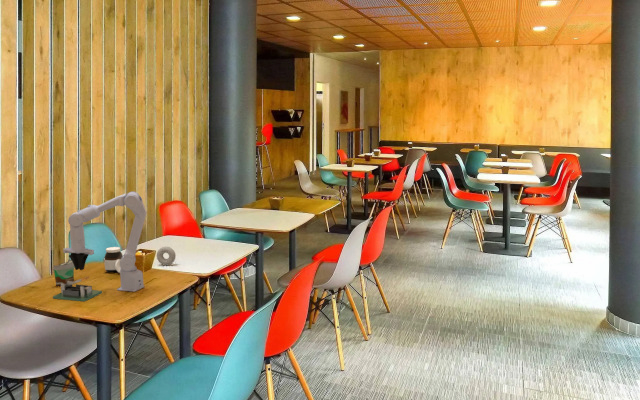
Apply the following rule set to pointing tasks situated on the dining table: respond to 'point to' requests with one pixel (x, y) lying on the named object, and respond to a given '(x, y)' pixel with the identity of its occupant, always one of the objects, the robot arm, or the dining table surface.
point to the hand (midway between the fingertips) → (79, 269)
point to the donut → (162, 259)
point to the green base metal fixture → (76, 292)
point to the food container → (64, 273)
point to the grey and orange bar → (77, 281)
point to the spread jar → (113, 259)
